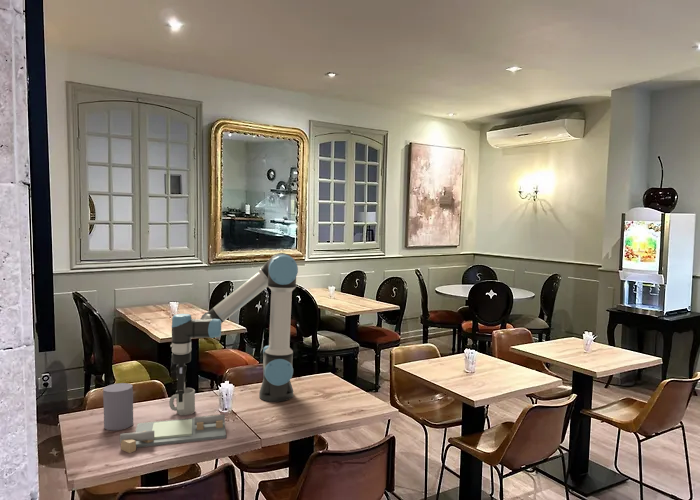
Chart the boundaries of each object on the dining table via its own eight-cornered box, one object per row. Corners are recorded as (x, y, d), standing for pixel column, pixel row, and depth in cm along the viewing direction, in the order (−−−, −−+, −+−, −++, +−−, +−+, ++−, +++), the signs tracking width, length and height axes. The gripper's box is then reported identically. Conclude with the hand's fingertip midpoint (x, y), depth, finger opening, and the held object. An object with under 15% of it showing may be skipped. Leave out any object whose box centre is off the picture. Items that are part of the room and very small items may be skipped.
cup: (196, 414, 217) (195, 392, 217) (170, 417, 214) (169, 395, 213) (193, 408, 224) (193, 387, 223) (168, 411, 220) (168, 390, 220)
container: (103, 432, 198) (102, 393, 197) (104, 422, 208) (103, 385, 207) (133, 428, 202) (133, 389, 201) (133, 419, 212) (132, 381, 211)
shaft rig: (223, 417, 214) (223, 405, 213) (226, 442, 190) (226, 429, 190) (127, 426, 204) (127, 413, 204) (118, 454, 181) (118, 439, 180)
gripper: (173, 345, 228) (172, 394, 229) (170, 360, 204) (169, 415, 205) (191, 344, 230) (191, 392, 231) (190, 359, 206) (190, 413, 208)
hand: (181, 403), depth 218 cm, fingers open, 13 cm apart
